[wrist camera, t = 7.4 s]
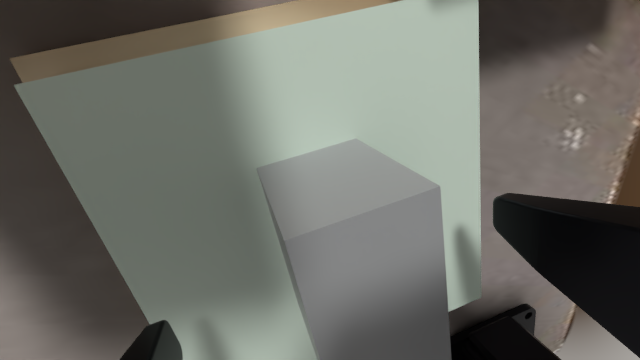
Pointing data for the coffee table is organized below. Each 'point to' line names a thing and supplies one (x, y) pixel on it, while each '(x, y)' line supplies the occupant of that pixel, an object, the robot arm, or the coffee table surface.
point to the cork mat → (179, 36)
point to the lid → (288, 182)
